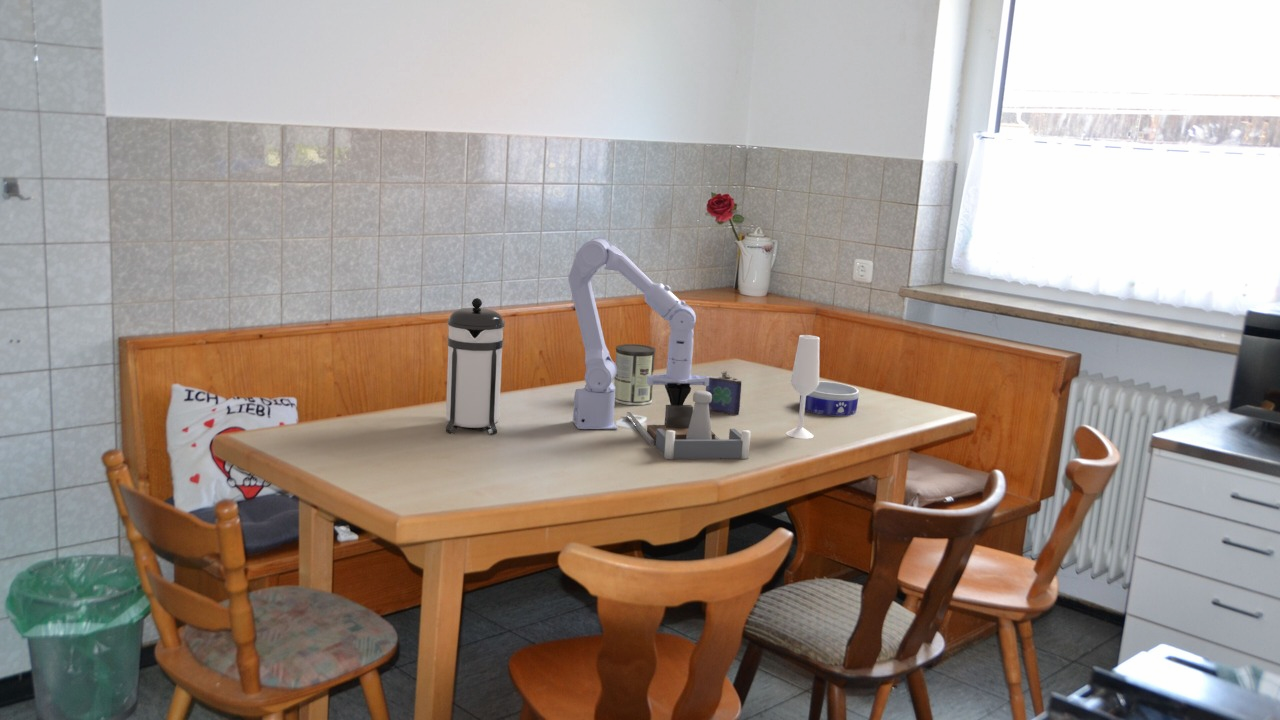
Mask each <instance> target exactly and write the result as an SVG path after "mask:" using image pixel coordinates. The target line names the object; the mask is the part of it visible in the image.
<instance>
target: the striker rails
mask: <svg viewBox="0 0 1280 720" xmlns="http://www.w3.org/2000/svg"><path fill="white" fill-rule="evenodd" d="M626 416H629V417H631V418H632V420H633V422H634V423H635V425H636V427H635V429H637V431H638V432H639V433H640V434H641V436H642V437H643V438H644V439H645V440H646V442H647V443H648V444H649V445H650V446H655V440H654V439H653V438H652V437H651V435H650V434H649V433H648V432H647V429H646V428H645V427H644V426H643V425H642V424H641V423H640V422H639V421H638V419H637V418H636V417H635V416H634V415H633V414H632V412H631V411H626ZM715 439H720V438H719V437H718V436H717V435H716V434H715Z"/></svg>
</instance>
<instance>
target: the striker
mask: <svg viewBox="0 0 1280 720" xmlns="http://www.w3.org/2000/svg"><path fill="white" fill-rule="evenodd" d="M693 409H694V405H691V404H683V405H671V404H665V412H664V413H665V414H664V424H646V431H647V432H648V433H649V434H650V435H651V437H652V438H653V439H654V440H655V442H654V444H656V433H657V429H663V430H664V431H665V432H666V431H667V430H673V431H675V439H686V436H687V432H688V428H689V425H690V421H691V417H692V413H693ZM711 435H712V439H715V435H716V434H715V433H714V432H713V431H712V430H711Z"/></svg>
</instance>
